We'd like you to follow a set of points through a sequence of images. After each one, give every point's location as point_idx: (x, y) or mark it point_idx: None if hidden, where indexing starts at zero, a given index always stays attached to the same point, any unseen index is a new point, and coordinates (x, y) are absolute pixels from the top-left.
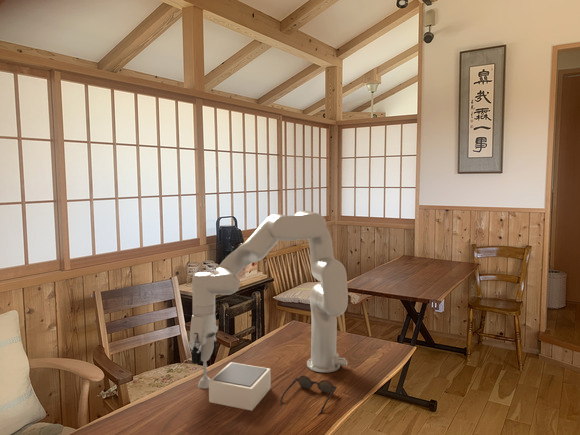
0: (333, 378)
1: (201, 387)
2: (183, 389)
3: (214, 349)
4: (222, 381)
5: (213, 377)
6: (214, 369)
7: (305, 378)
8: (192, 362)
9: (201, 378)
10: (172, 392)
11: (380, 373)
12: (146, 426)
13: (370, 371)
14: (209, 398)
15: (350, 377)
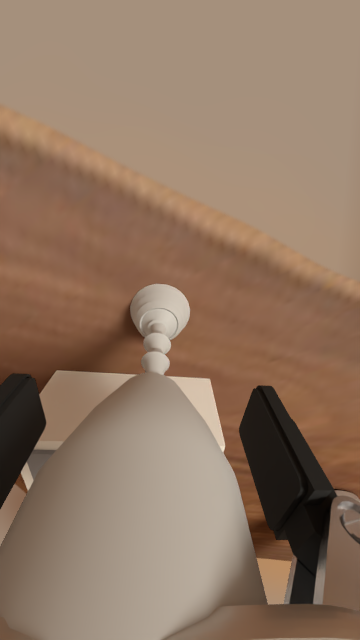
0: (259, 524)
1: (131, 310)
2: (92, 240)
3: (248, 458)
4: (34, 477)
5: (48, 443)
6: (305, 290)
7: None
8: (14, 376)
9: (158, 308)
10: (42, 198)
11: (283, 556)
12: None
13: (291, 549)
14: (50, 380)
15: (265, 537)
